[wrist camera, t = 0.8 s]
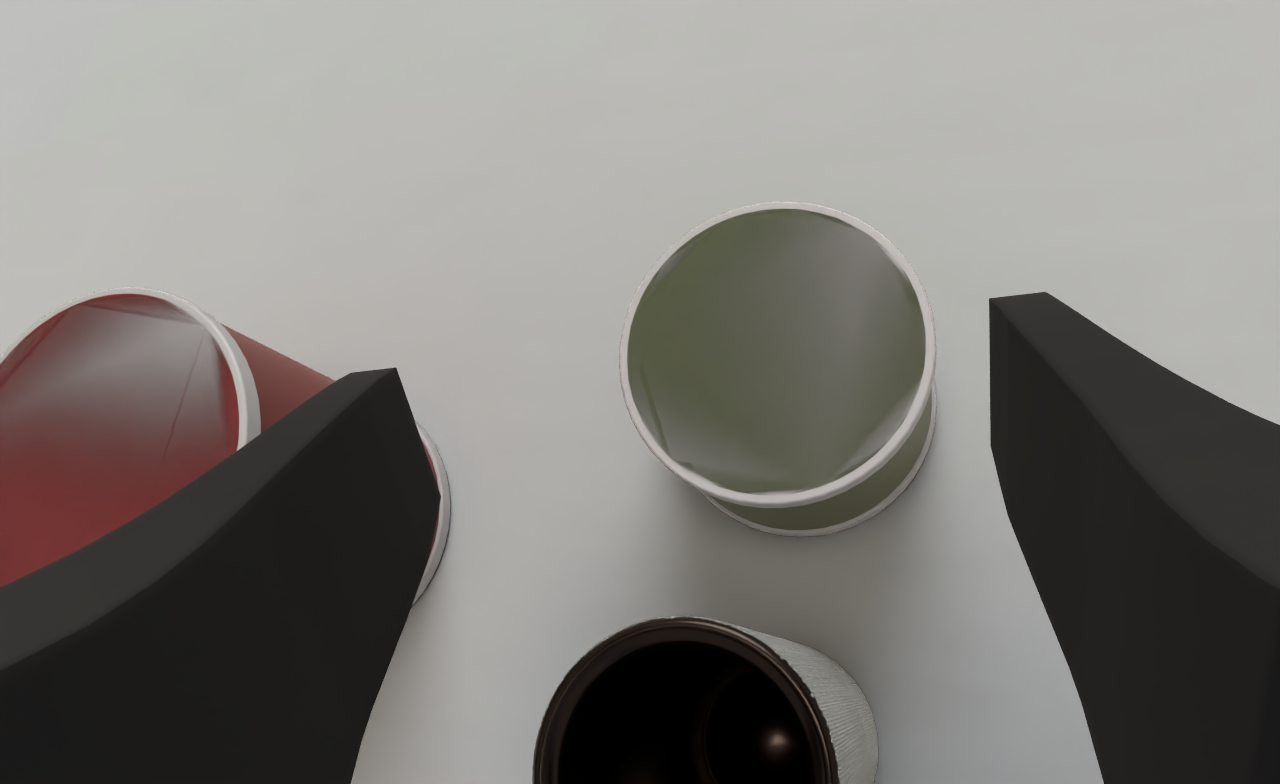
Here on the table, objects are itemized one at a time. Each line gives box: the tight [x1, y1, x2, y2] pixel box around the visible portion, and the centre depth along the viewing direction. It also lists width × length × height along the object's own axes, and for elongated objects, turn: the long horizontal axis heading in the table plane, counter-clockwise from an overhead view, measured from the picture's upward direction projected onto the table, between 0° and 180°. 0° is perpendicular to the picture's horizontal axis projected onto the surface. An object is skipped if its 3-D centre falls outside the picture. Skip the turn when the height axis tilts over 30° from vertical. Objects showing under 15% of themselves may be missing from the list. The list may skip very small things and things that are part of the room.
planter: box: [532, 616, 878, 784], centre depth 20 cm, size 4×4×10 cm
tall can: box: [0, 287, 450, 606], centre depth 25 cm, size 7×7×9 cm
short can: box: [619, 201, 936, 537], centre depth 24 cm, size 7×7×5 cm
